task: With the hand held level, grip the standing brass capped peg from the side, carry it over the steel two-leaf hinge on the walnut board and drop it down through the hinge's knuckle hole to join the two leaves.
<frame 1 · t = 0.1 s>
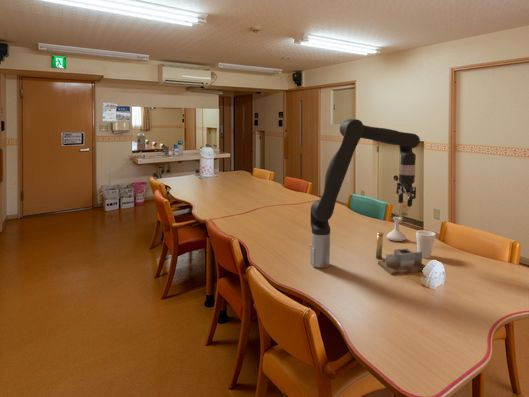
hand: (404, 204, 188), 29 cm above the table, tool pointing down, fingers open, 8 cm apart
flower in vase: (397, 240, 224), on the table
hinge: (403, 258, 181), on the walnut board, point 5 cm above the table
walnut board: (403, 267, 182), on the table
brass capped peg: (378, 258, 194), on the table
foam cup: (424, 256, 197), on the table
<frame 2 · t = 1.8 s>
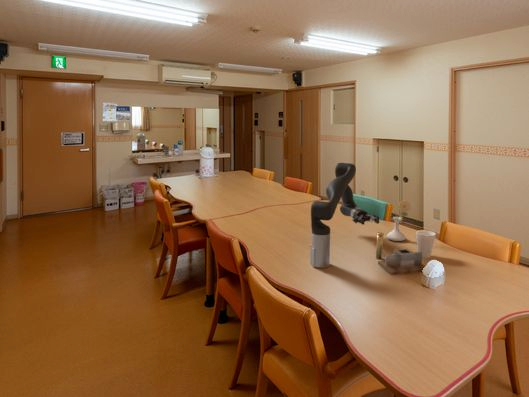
hand: (371, 222, 202), 17 cm above the table, tool horizontal, fingers open, 8 cm apart
nothing on the table moved.
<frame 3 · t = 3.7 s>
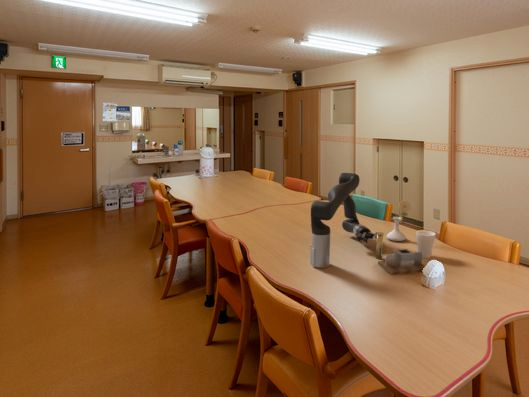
hand: (374, 240, 198), 8 cm above the table, tool horizontal, fingers open, 8 cm apart
nothing on the table moved.
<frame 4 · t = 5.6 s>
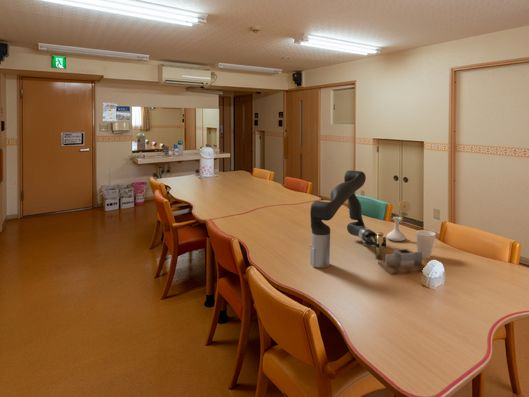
hand: (382, 245, 190), 8 cm above the table, tool horizontal, fingers closed on brass capped peg, 3 cm apart
brass capped peg: (378, 258, 194), on the table, touching gripper
everything else where it was.
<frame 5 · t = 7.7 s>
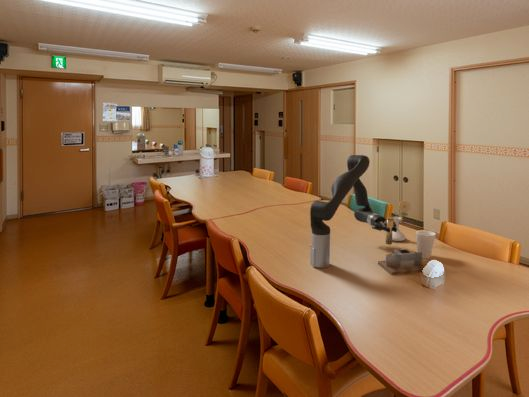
hand: (392, 230, 183), 18 cm above the table, tool horizontal, fingers closed on brass capped peg, 3 cm apart
brass capped peg: (388, 243, 188), point 10 cm above the table, touching gripper
everything else where it was.
when the fingers open (14 cm above the table, at t = 9.5 s): brass capped peg drops 5 cm, resting on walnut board.
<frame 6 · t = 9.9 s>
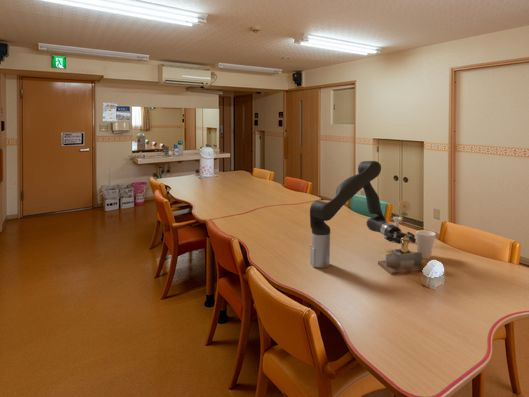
hand: (407, 241, 177), 15 cm above the table, tool horizontal, fingers open, 7 cm apart
brass capped peg: (403, 264, 182), point 2 cm above the table, touching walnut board
everything else where it was.
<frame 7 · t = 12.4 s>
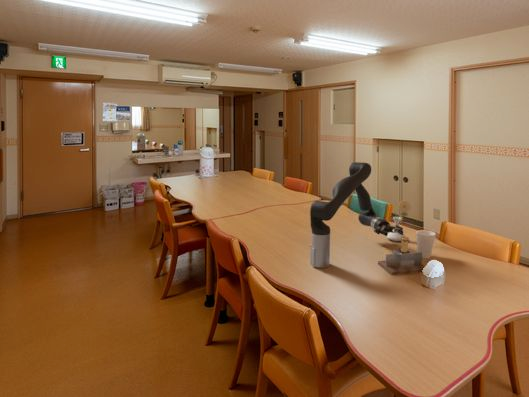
hand: (394, 233, 189), 15 cm above the table, tool horizontal, fingers open, 8 cm apart
nothing on the table moved.
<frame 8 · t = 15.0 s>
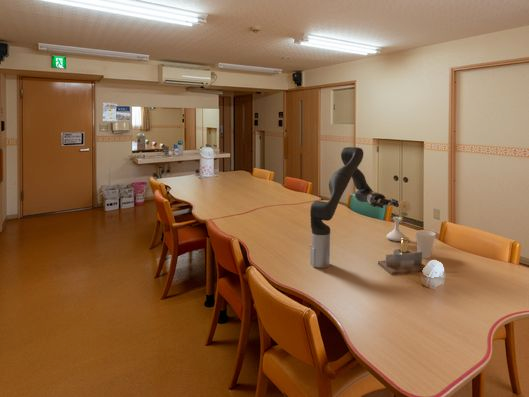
hand: (390, 205, 191), 28 cm above the table, tool horizontal, fingers open, 8 cm apart
nothing on the table moved.
at the end: brass capped peg 0.1 cm off-centre on the hinge, point 1.5 cm above the hinge's base; brass capped peg tilted 1°; the gripper is holding nothing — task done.
